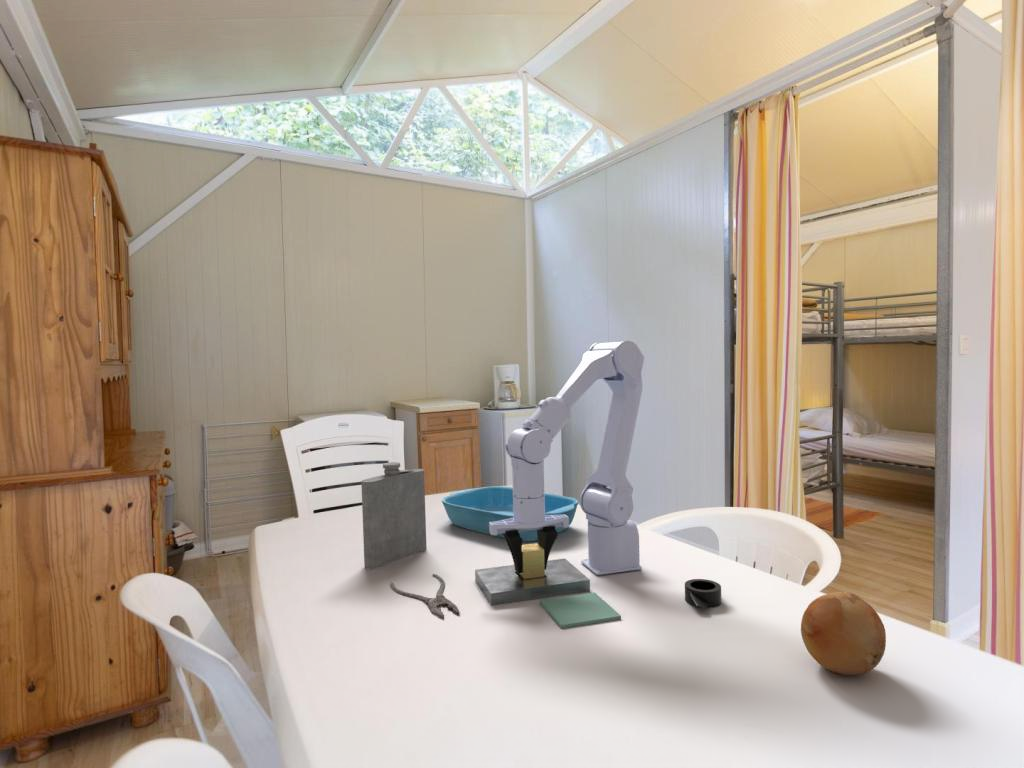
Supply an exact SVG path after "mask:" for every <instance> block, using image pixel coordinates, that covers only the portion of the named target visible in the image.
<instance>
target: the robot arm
mask: <svg viewBox="0 0 1024 768" xmlns="http://www.w3.org/2000/svg"><path fill="white" fill-rule="evenodd" d="M581 359H582V360H581V362H580V364H579V365H578V366H577V367H576V368H575V370H574V372H573V373H572V374H571V376H570V377H569V378H568V380H567V381H566V383H564V385H563V387H561V389H560V390H559V392H558V393H557V394H556V396H550V397H546V398H545V399H541V400H540V401H539V402H538V403H537V405H538V408H536V410H535V411H534V412H533V414H532V415H531V416H530V417H529V418H528V419H526V420H524V421H523V423H522V427H520V428H518V429H515V430H513V431H512V432H511V434H509V437H508V439H507V443H505V444H504V449H505V451H506V454H508V456H509V457H510V460H511V461H510V462H511V473H512V474H511V475H512V480H511V481H512V488H513V517H514V518H509V519H505V520H500V521H495V522H489V533H490V534H491V535H490V536H493V535H498V534H501V533H502V534H503V536H504V538H503V539H504V540H505V543H506V544H507V546H508V549H509V551H510V554H511V557H512V562H513V565H514V566H515V570H516V572H517V573H522V560H521V550H522V545H523V541H522V540H523V539H522V538H521V537H520V534H519V533H518V532H519V531H528V530H537V537H538V540H537V544H538V545H540V546H541V547H542V548H543V549H544V566H545V570H546V567H547V561H549V557H550V553H551V550H552V548H553V547H554V544H555V541H556V540H557V538H558V533H557V531H556V530H555V528H556V527H563V528H566V527H567V528H569V527H570V526H569V517H568V516H566V515H565V514H563V515H545V495H544V493H545V466H544V465H545V464H544V462H545V461H544V460H545V459H546V458H547V457H548V456H549V454H550V452H551V445H552V442H553V441H554V439H555V437H557V435H558V434H559V433H560V431H561V430H562V429H563V427H565V426H566V424H567V422H569V420H570V419H571V418H572V412H571V408H572V407H573V406H574V405H575V403H577V402H578V401H579V400H580V399H581V397H582V396H583V395H584V394H585V393H586V392H587V391H588V390H590V388H591V387H592V386H593V385H594V384H595V382H597V381H598V380H601V379H602V381H603V382H605V383H606V384H607V386H608V387H609V388H610V390H611V391H612V395H611V396H612V397H611V401H610V405H609V410H608V411H609V412H608V416H607V420H606V422H607V423H606V425H605V432H604V434H603V435H604V436H603V441H602V446H601V450H600V454H599V460H598V466H597V469H596V470H595V471H594V472H593V473H591V475H589V476H588V478H587V482H586V485H585V487H584V488H583V490H582V492H581V493H580V496H579V505H580V508H581V510H582V511H583V513H584V514H585V519H586V520H587V545H588V546H587V548H588V549H587V550H588V558H586V559H581V560H580V562H581V563H582V564H583V566H585V567H587V568H588V570H590V571H591V572H593V574H595V575H596V576H602V575H608V574H610V575H611V574H616V573H623V572H624V573H625V572H630V571H631V572H632V571H637V570H638V571H639V570H642V566H641V565H640V564H641V563H640V533H639V529H638V526H637V524H636V523H635V521H634V520H632V519H630V518H631V517H632V514H633V513H634V512H633V511H634V501H633V491H634V487H633V485H632V484H631V482H630V481H629V479H628V477H627V476H626V474H627V469H628V464H629V458H630V453H631V449H632V445H633V439H634V434H635V429H636V425H637V418H638V413H639V408H640V403H641V398H642V392H643V379H642V378H643V377H642V376H643V375H642V370H643V365H644V360H645V356H644V354H643V353H642V351H641V350H640V348H639V347H638V345H637V344H636V342H634V341H631V340H622V341H612V342H602V341H599V342H595V343H593V344H592V345H591V346H590V347H589V348H588V350H587V351H586V352H584V353H583V355H582V358H581ZM567 528H566V529H567ZM493 537H494V536H493Z"/></svg>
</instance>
